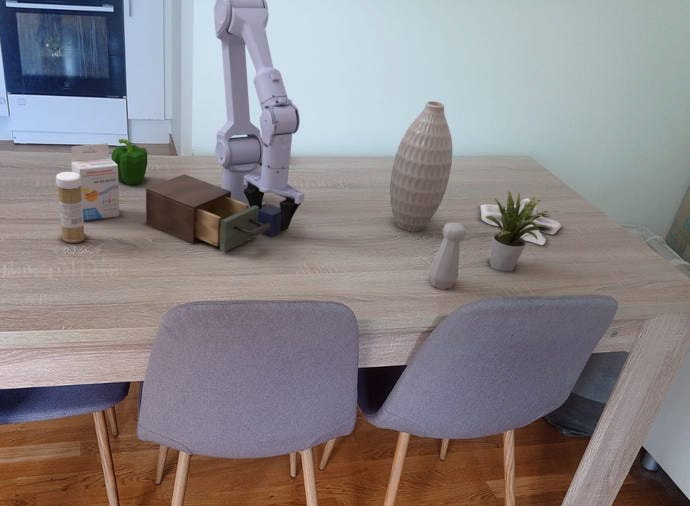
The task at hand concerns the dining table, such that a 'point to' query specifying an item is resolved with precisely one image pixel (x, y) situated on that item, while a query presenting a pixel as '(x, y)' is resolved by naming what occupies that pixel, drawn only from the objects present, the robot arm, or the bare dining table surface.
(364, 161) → the dining table surface
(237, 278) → the dining table surface
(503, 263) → the house plant
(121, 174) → the bell pepper
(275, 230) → the box
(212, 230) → the drawer
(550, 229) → the cloth
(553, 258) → the dining table surface
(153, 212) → the cabinet
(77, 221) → the sprinkles bottle
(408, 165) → the vase
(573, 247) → the dining table surface
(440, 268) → the salt shaker
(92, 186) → the ink box
